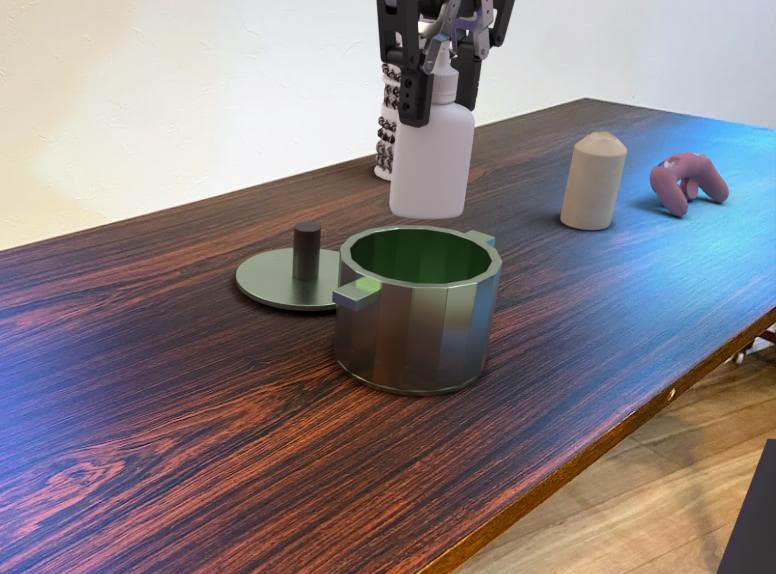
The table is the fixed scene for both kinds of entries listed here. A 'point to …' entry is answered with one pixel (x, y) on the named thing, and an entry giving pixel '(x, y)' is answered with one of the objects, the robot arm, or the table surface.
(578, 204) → the candle
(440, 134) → the eye dropper bottle
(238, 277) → the lid
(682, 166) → the video game controller
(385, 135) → the bracelet display stand
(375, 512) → the table surface
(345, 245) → the pot
